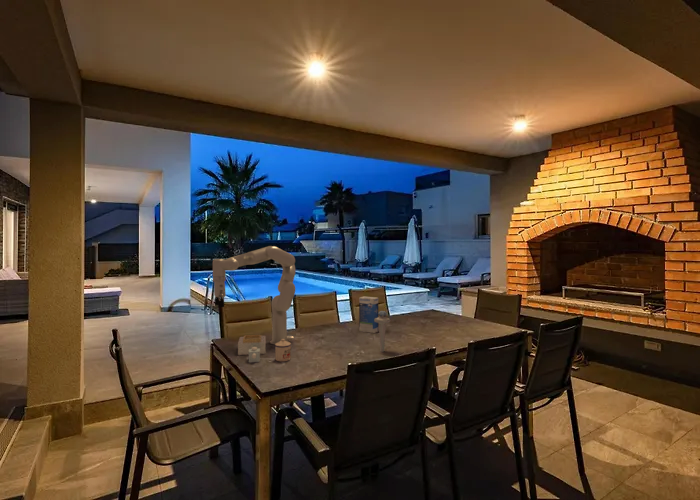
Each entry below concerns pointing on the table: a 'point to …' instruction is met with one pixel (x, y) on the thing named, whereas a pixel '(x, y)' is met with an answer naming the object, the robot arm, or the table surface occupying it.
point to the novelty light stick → (382, 328)
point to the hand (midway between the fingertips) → (219, 305)
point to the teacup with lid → (283, 350)
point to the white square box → (251, 344)
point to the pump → (254, 354)
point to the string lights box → (368, 314)
